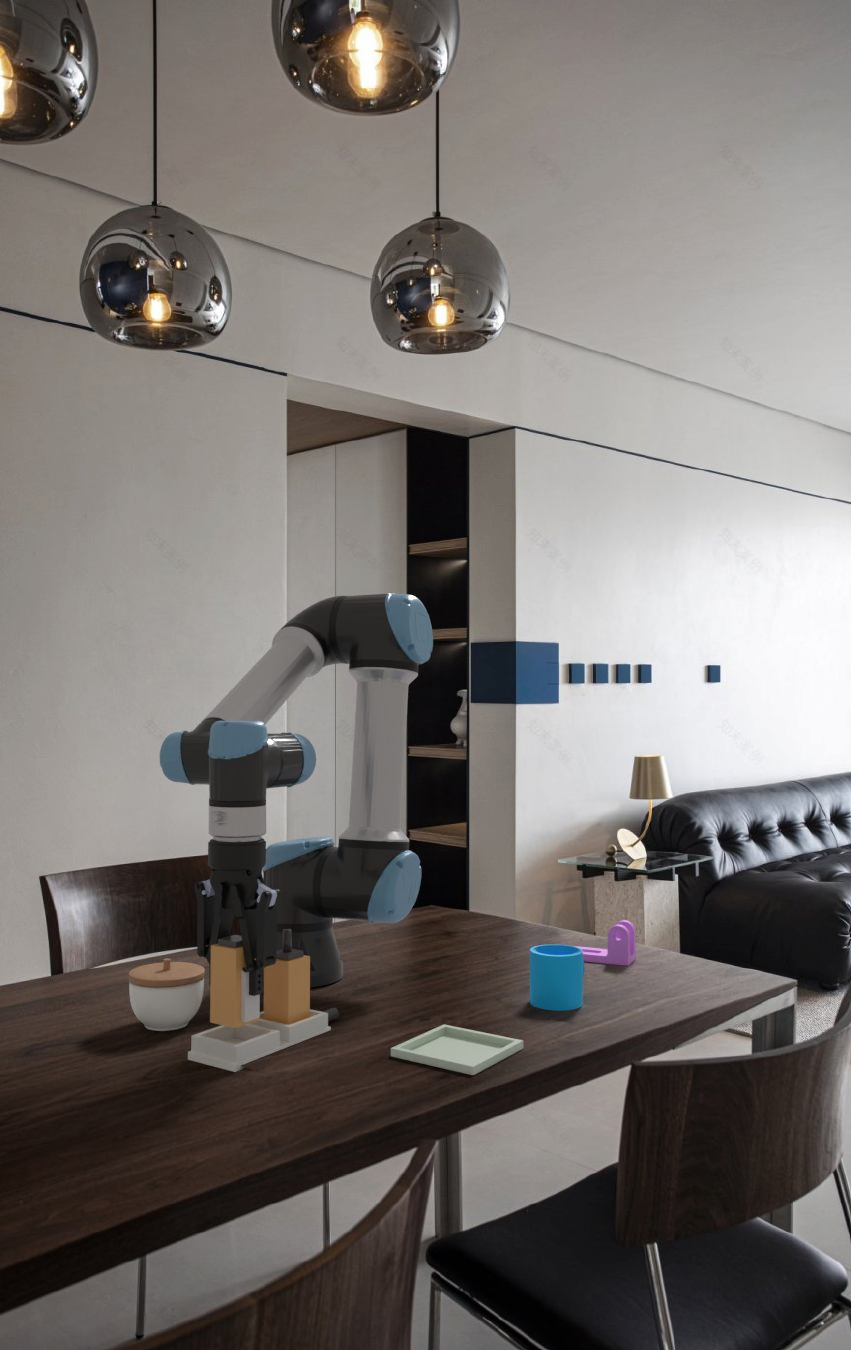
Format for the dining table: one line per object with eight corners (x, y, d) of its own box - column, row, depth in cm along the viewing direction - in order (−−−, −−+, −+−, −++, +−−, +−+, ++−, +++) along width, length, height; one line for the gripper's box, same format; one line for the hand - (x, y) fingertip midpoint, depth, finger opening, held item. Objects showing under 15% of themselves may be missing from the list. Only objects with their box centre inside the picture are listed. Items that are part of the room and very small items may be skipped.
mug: (565, 1014, 164) (565, 959, 164) (519, 1004, 169) (519, 951, 169) (605, 996, 174) (604, 945, 174) (560, 988, 179) (560, 937, 179)
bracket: (635, 959, 199) (635, 921, 199) (628, 966, 194) (628, 926, 194) (566, 952, 204) (566, 915, 204) (557, 959, 199) (557, 920, 199)
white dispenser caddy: (234, 1072, 138) (235, 953, 138) (187, 1059, 143) (188, 945, 143) (357, 1023, 159) (357, 920, 159) (312, 1013, 164) (312, 914, 164)
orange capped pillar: (210, 1022, 143) (210, 939, 144) (234, 1014, 147) (235, 933, 147) (235, 1028, 141) (236, 943, 141) (259, 1020, 145) (260, 937, 145)
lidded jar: (137, 1040, 151) (138, 971, 151) (120, 1020, 160) (121, 955, 161) (213, 1029, 156) (214, 963, 156) (193, 1010, 165) (193, 947, 165)
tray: (390, 1060, 143) (390, 1048, 143) (444, 1035, 153) (444, 1024, 153) (473, 1079, 136) (473, 1066, 136) (523, 1052, 146) (523, 1040, 146)
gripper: (169, 835, 147) (167, 1011, 146) (267, 845, 137) (265, 1034, 136) (210, 830, 153) (208, 999, 152) (306, 839, 143) (305, 1020, 142)
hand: (235, 1015), depth 144 cm, fingers closed on orange capped pillar, 4 cm apart
